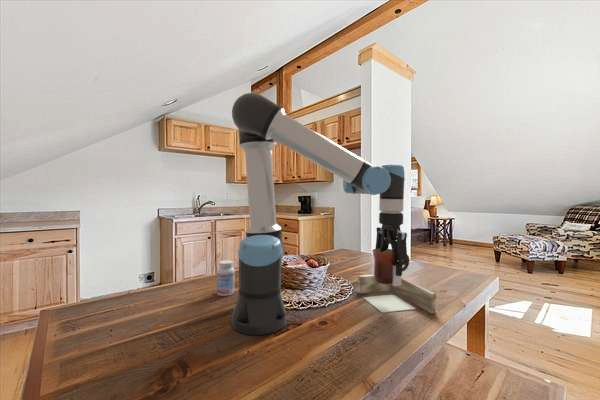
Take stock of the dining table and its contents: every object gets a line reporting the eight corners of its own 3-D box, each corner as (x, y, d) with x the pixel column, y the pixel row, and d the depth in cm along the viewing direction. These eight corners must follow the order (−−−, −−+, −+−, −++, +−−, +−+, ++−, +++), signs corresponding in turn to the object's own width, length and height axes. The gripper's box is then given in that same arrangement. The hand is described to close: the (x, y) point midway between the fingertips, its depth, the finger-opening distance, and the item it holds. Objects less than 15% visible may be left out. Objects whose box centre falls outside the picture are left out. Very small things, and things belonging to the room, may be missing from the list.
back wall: (431, 313, 85) (431, 294, 85) (391, 289, 106) (391, 273, 105) (435, 312, 86) (435, 293, 86) (394, 289, 106) (395, 273, 106)
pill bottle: (213, 295, 96) (213, 263, 96) (222, 289, 102) (222, 259, 102) (229, 297, 95) (229, 264, 95) (237, 291, 101) (237, 260, 100)
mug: (375, 286, 87) (376, 253, 87) (368, 277, 96) (369, 248, 96) (414, 286, 87) (414, 254, 87) (403, 278, 96) (404, 248, 96)
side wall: (359, 293, 101) (360, 276, 101) (357, 291, 102) (358, 275, 102) (393, 290, 105) (393, 274, 104) (391, 288, 106) (391, 273, 106)
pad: (382, 313, 85) (382, 312, 85) (363, 298, 96) (363, 297, 96) (415, 309, 88) (415, 308, 88) (393, 295, 100) (393, 294, 100)
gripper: (422, 214, 82) (419, 291, 83) (384, 209, 102) (382, 271, 103) (400, 215, 80) (398, 293, 81) (365, 209, 100) (364, 272, 101)
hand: (389, 281), depth 92 cm, fingers closed on mug, 7 cm apart
